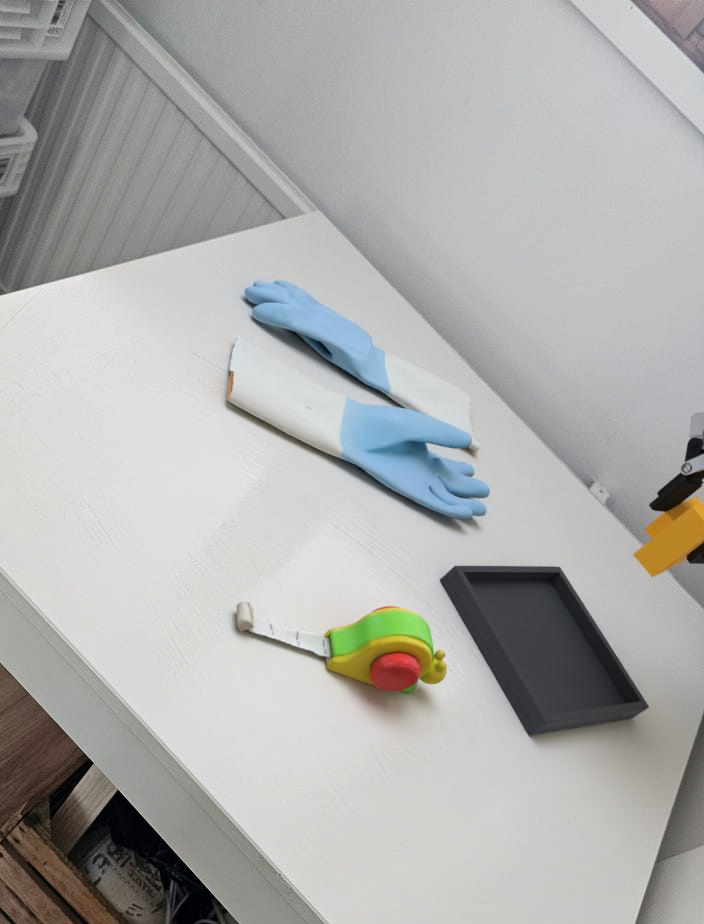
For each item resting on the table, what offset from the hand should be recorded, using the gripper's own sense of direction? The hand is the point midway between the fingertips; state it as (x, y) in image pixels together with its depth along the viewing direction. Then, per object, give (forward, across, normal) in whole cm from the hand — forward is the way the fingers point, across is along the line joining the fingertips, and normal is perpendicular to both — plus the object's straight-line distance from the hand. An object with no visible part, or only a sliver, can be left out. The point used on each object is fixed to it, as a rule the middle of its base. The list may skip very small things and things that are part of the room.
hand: (678, 533), depth 93 cm
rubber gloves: (+18, +32, +7) cm, 37 cm away
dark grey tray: (+17, -1, +1) cm, 18 cm away
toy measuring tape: (+18, 0, +29) cm, 34 cm away
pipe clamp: (+2, 0, 0) cm, 2 cm away
